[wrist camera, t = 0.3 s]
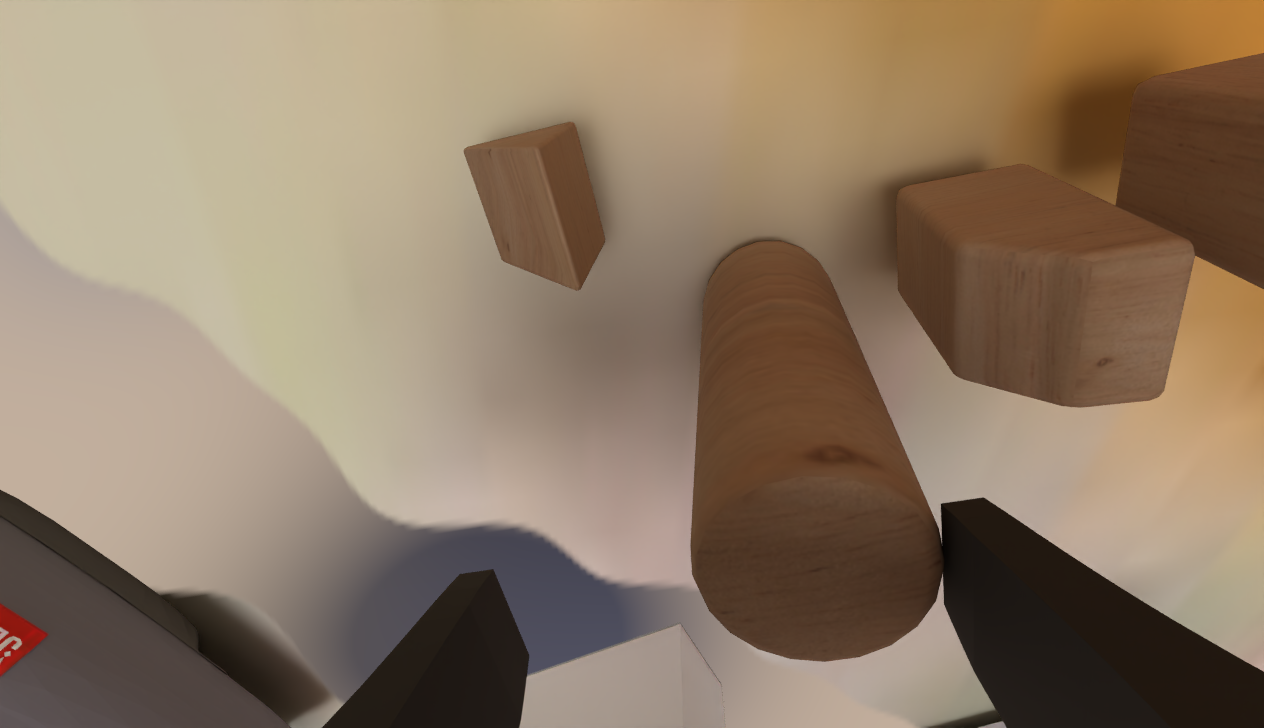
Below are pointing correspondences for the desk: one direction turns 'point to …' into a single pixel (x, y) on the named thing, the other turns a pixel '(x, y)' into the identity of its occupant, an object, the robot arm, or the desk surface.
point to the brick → (628, 687)
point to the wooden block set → (952, 318)
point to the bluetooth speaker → (99, 642)
